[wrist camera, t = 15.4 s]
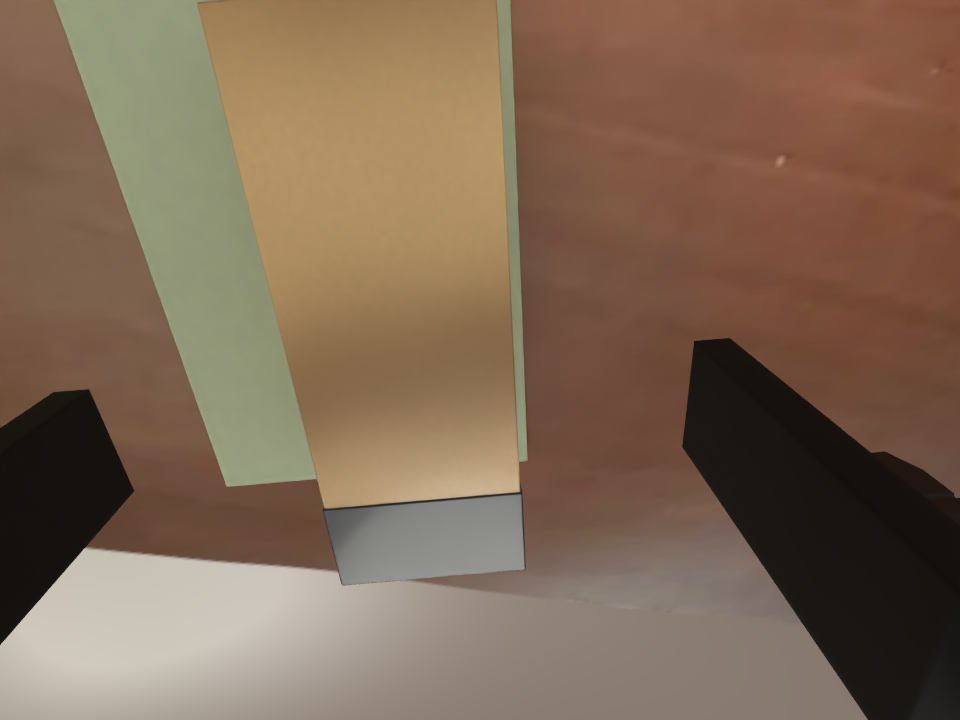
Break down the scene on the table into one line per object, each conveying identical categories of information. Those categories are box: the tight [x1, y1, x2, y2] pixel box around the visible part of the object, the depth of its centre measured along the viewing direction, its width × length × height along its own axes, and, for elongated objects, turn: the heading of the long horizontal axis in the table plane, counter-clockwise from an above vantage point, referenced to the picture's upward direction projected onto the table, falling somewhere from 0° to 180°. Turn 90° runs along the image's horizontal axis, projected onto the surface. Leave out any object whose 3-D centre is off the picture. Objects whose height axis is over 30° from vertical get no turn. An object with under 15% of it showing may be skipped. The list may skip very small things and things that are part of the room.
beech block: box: [197, 0, 526, 585], centre depth 17 cm, size 16×6×7 cm, turn 4°
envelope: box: [54, 0, 528, 487], centre depth 19 cm, size 24×14×1 cm, turn 4°
